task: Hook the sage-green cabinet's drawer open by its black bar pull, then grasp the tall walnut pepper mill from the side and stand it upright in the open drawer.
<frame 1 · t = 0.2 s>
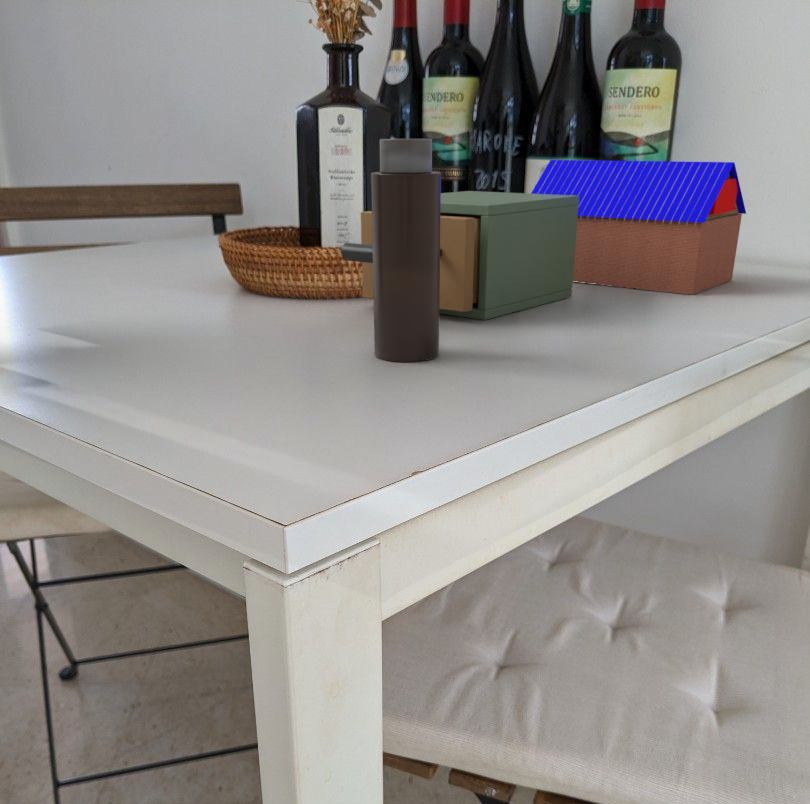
house: (624, 280, 93), on the table
drawer: (441, 255, 76), point 5 cm above the table, slide at 1.0 cm
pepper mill: (406, 354, 61), on the table
cabinet: (474, 300, 81), on the table
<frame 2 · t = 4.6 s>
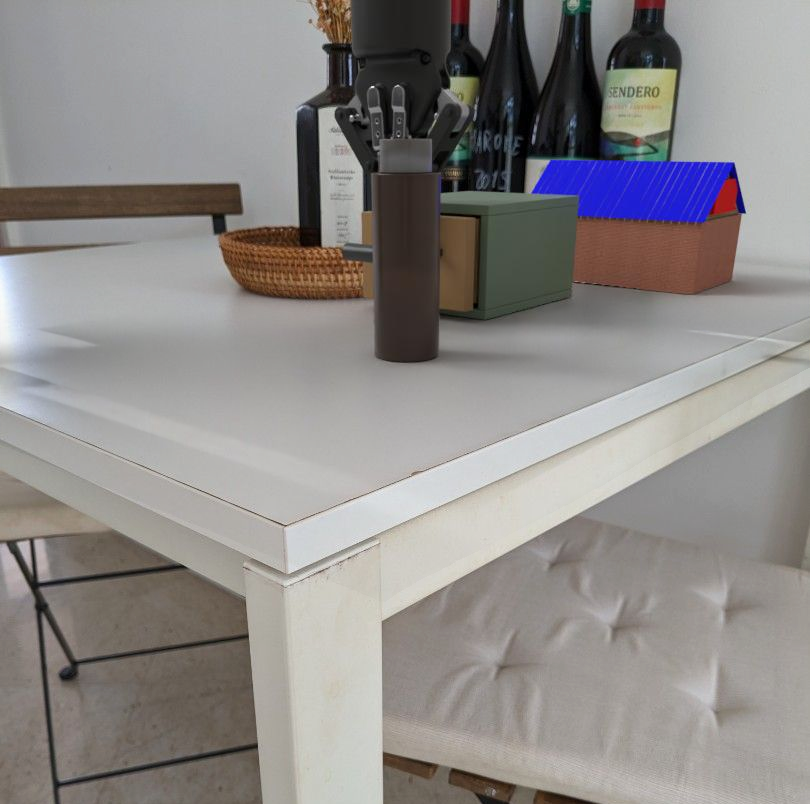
hand: (402, 232, 71), 7 cm above the table, tool pointing down, fingers closed
nothing on the table moved.
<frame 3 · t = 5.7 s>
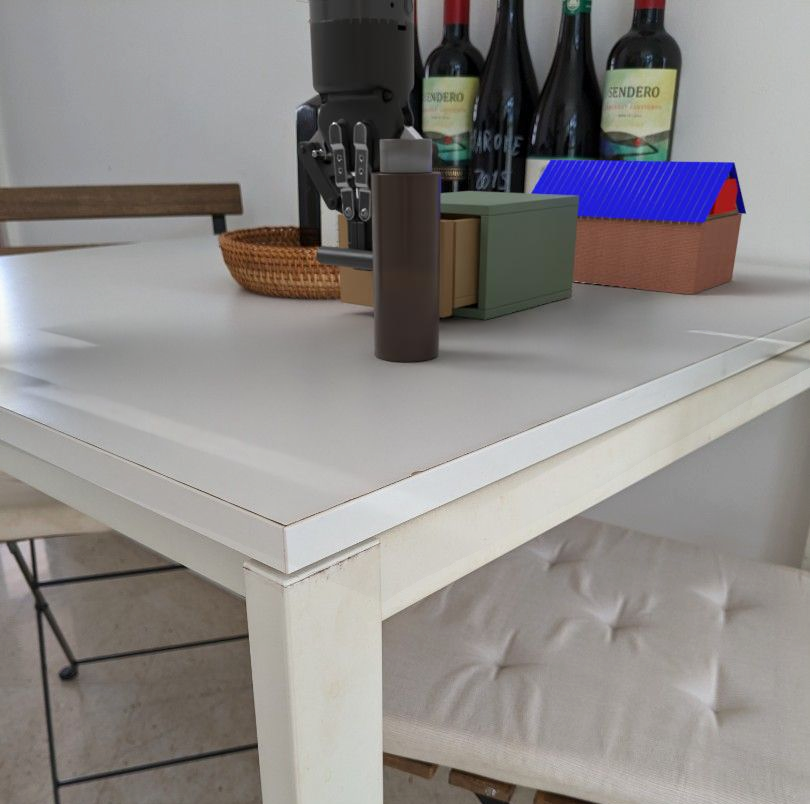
hand: (367, 269, 69), 4 cm above the table, tool pointing down, fingers closed
drawer: (421, 259, 74), point 5 cm above the table, slide at 3.9 cm, touching gripper
everything else where it was.
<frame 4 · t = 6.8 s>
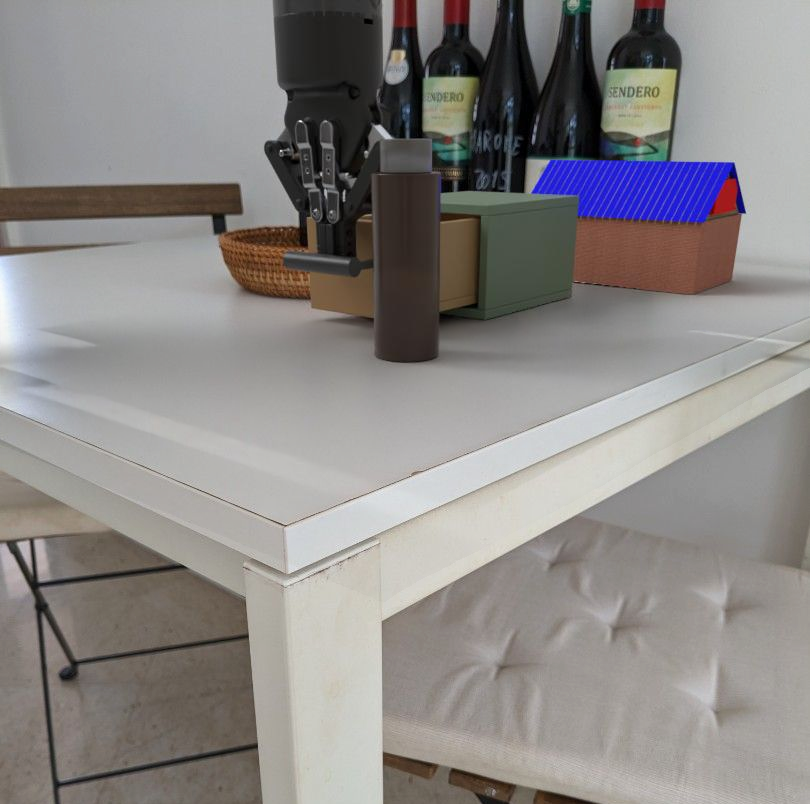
hand: (337, 273, 66), 5 cm above the table, tool pointing down, fingers closed
drawer: (394, 263, 71), point 5 cm above the table, slide at 7.5 cm
everything else where it was.
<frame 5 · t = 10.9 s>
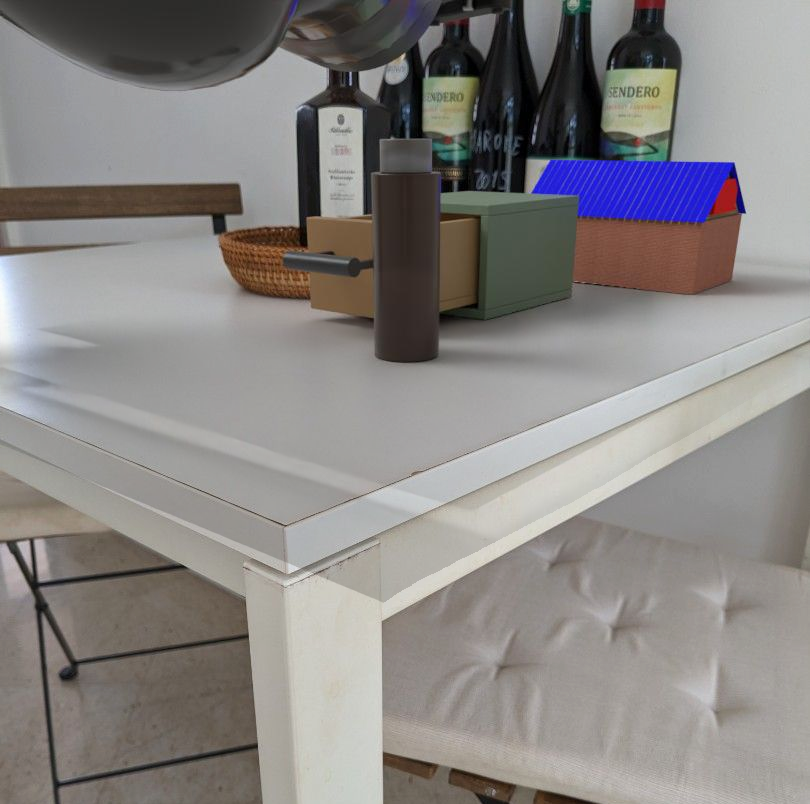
hand: (388, 8, 44), 20 cm above the table, tool horizontal, fingers closed
nothing on the table moved.
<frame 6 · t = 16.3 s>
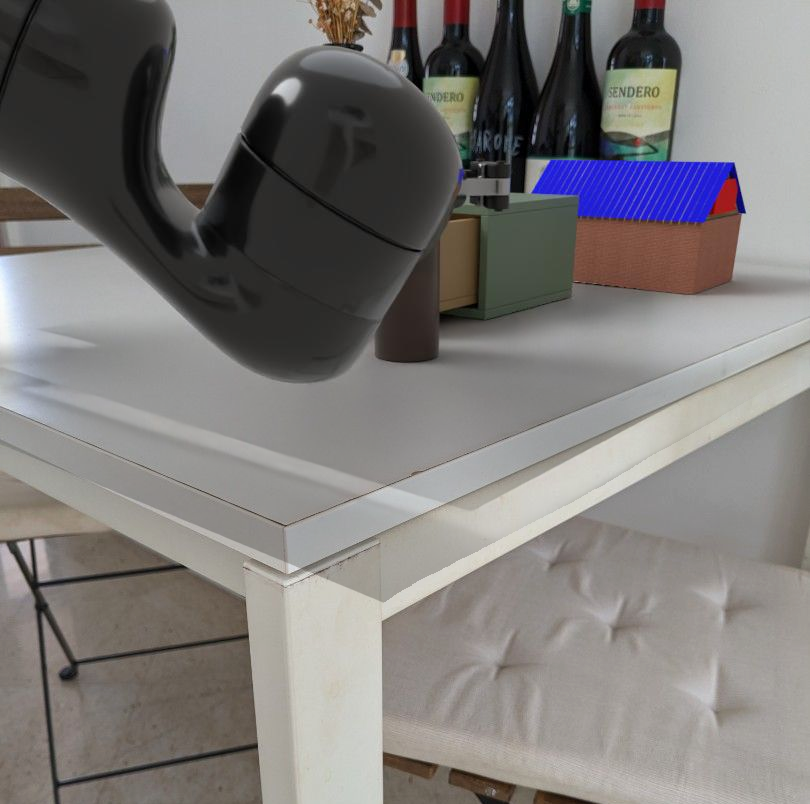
hand: (410, 178, 59), 12 cm above the table, tool horizontal, fingers closed on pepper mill, 4 cm apart
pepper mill: (406, 354, 61), on the table, touching gripper
everything else where it was.
when the fingers open (14 cm above the table, at t = 23.7 s): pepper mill stays where it is, resting on drawer.
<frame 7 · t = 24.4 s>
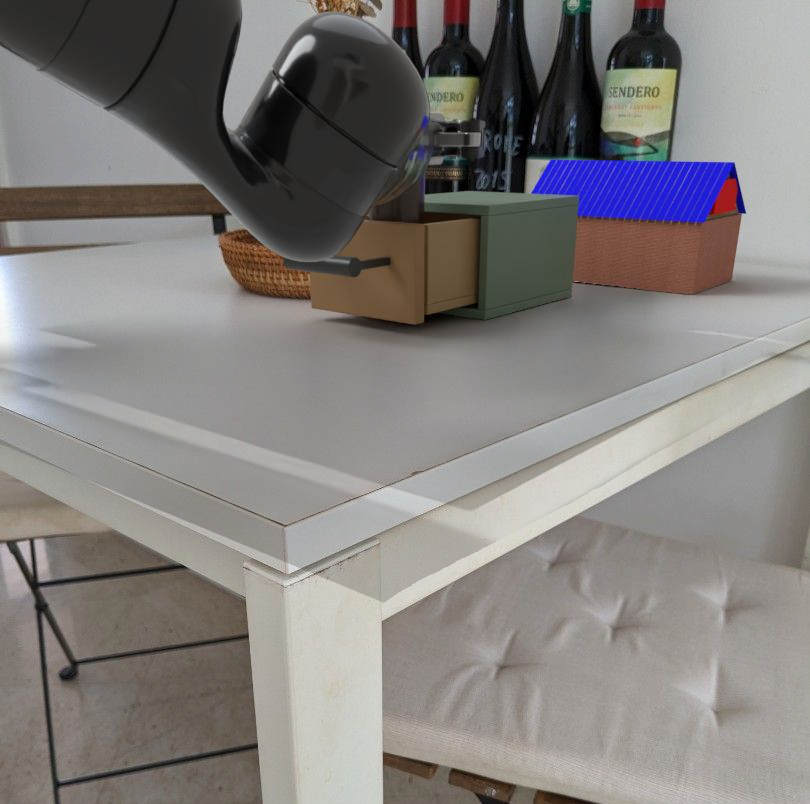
hand: (397, 139, 69), 14 cm above the table, tool horizontal, fingers open, 8 cm apart
drawer: (394, 263, 71), point 5 cm above the table, slide at 7.5 cm, touching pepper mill
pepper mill: (397, 295, 72), point 2 cm above the table, touching drawer
everything else where it was.
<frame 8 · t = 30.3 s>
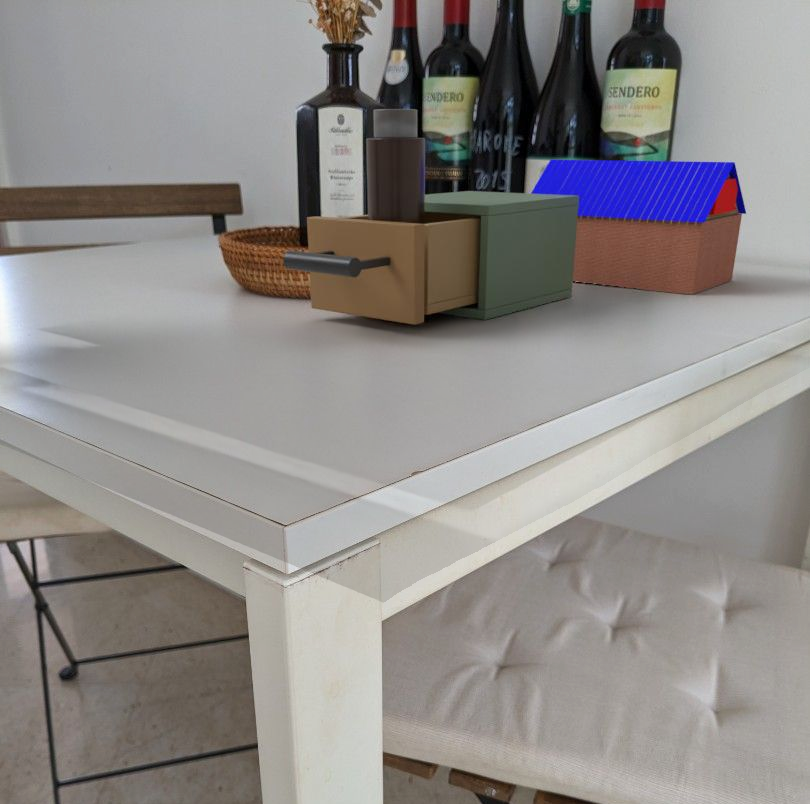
nothing on the table moved.
at the end: drawer slide at 7.5 cm; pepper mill inside the target area in the drawer (1.3 cm from its centre), point 2.0 cm above the cabinet's base; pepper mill tilted 0° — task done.
